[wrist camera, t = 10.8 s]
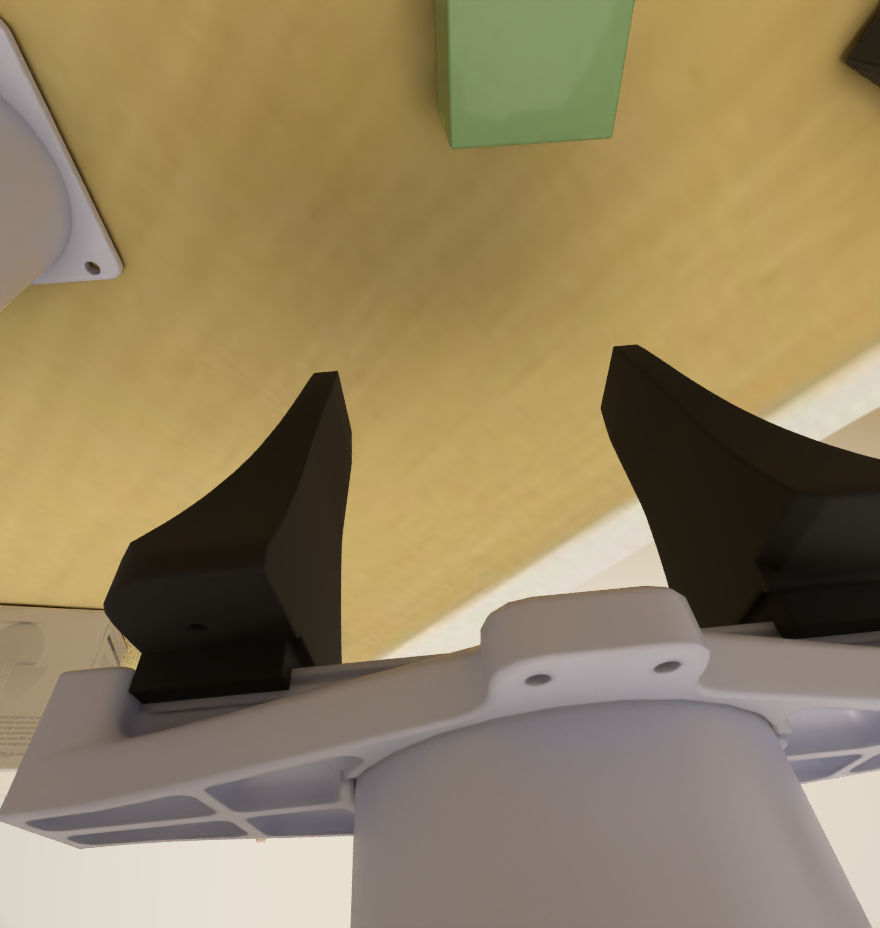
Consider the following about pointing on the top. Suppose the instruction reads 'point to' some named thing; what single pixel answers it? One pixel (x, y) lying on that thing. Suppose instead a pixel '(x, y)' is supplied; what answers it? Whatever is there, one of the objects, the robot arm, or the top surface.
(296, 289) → the top surface
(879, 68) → the disk drive
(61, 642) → the cosmetics box
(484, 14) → the block
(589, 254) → the top surface
